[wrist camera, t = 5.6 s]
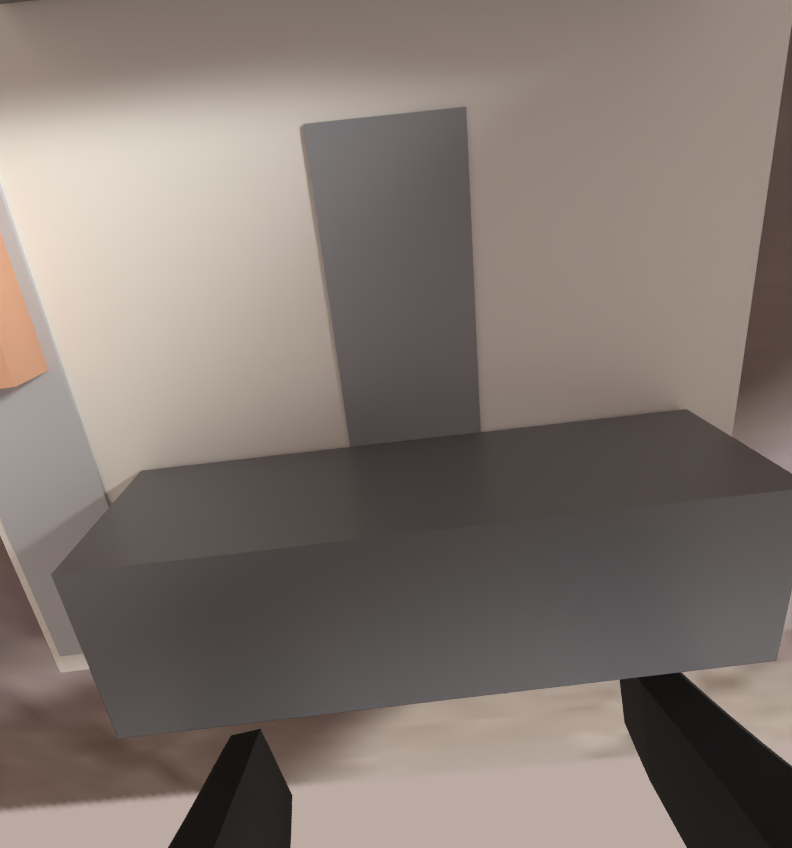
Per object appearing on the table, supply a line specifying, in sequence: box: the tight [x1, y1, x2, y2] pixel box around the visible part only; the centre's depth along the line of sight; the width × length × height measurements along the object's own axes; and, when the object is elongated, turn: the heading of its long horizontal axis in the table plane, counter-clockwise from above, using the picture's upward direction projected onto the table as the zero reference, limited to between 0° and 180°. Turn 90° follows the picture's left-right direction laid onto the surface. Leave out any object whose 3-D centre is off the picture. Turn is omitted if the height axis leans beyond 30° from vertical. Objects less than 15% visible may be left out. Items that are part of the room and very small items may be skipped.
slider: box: [51, 409, 792, 739], centre depth 9 cm, size 10×3×3 cm, turn 96°
